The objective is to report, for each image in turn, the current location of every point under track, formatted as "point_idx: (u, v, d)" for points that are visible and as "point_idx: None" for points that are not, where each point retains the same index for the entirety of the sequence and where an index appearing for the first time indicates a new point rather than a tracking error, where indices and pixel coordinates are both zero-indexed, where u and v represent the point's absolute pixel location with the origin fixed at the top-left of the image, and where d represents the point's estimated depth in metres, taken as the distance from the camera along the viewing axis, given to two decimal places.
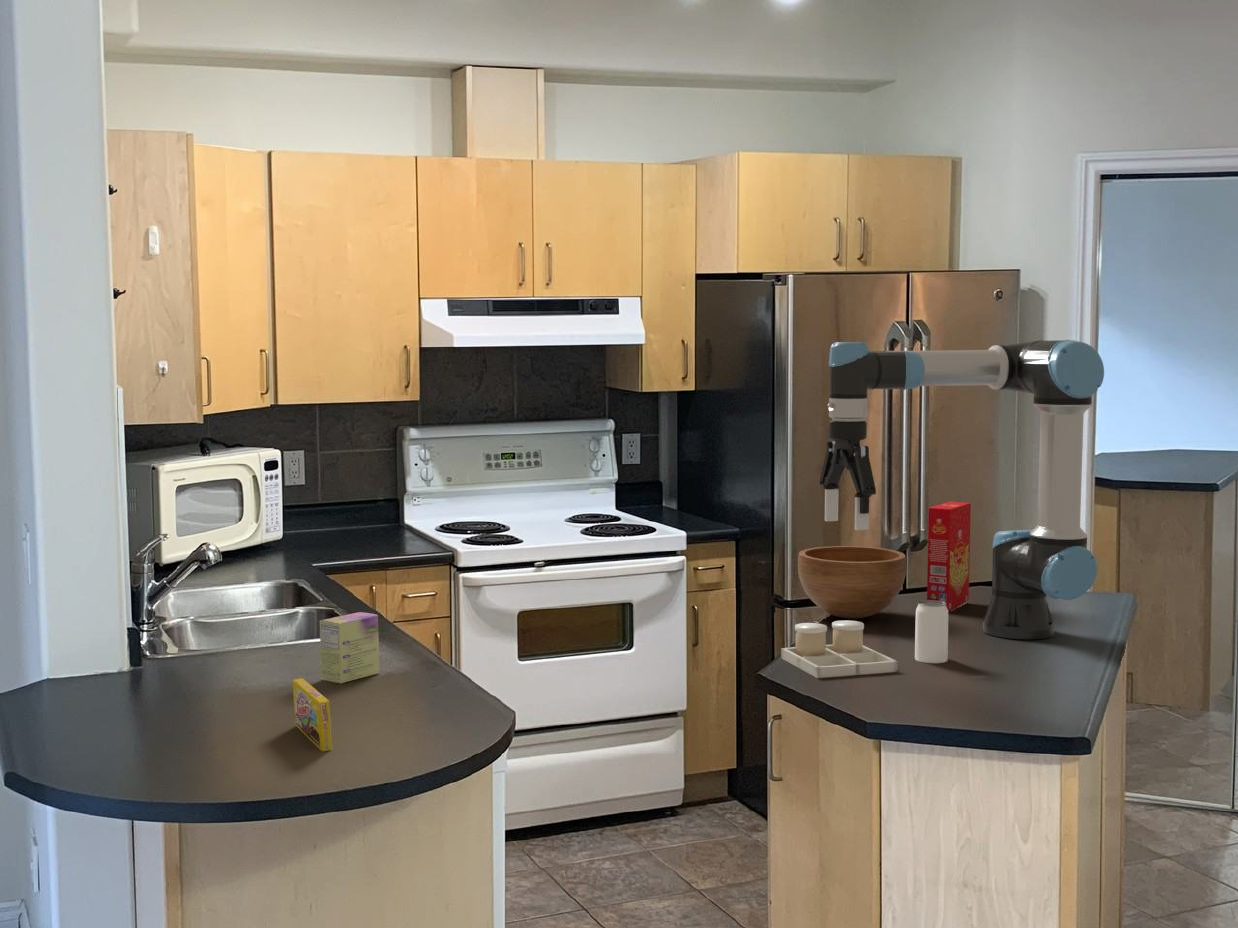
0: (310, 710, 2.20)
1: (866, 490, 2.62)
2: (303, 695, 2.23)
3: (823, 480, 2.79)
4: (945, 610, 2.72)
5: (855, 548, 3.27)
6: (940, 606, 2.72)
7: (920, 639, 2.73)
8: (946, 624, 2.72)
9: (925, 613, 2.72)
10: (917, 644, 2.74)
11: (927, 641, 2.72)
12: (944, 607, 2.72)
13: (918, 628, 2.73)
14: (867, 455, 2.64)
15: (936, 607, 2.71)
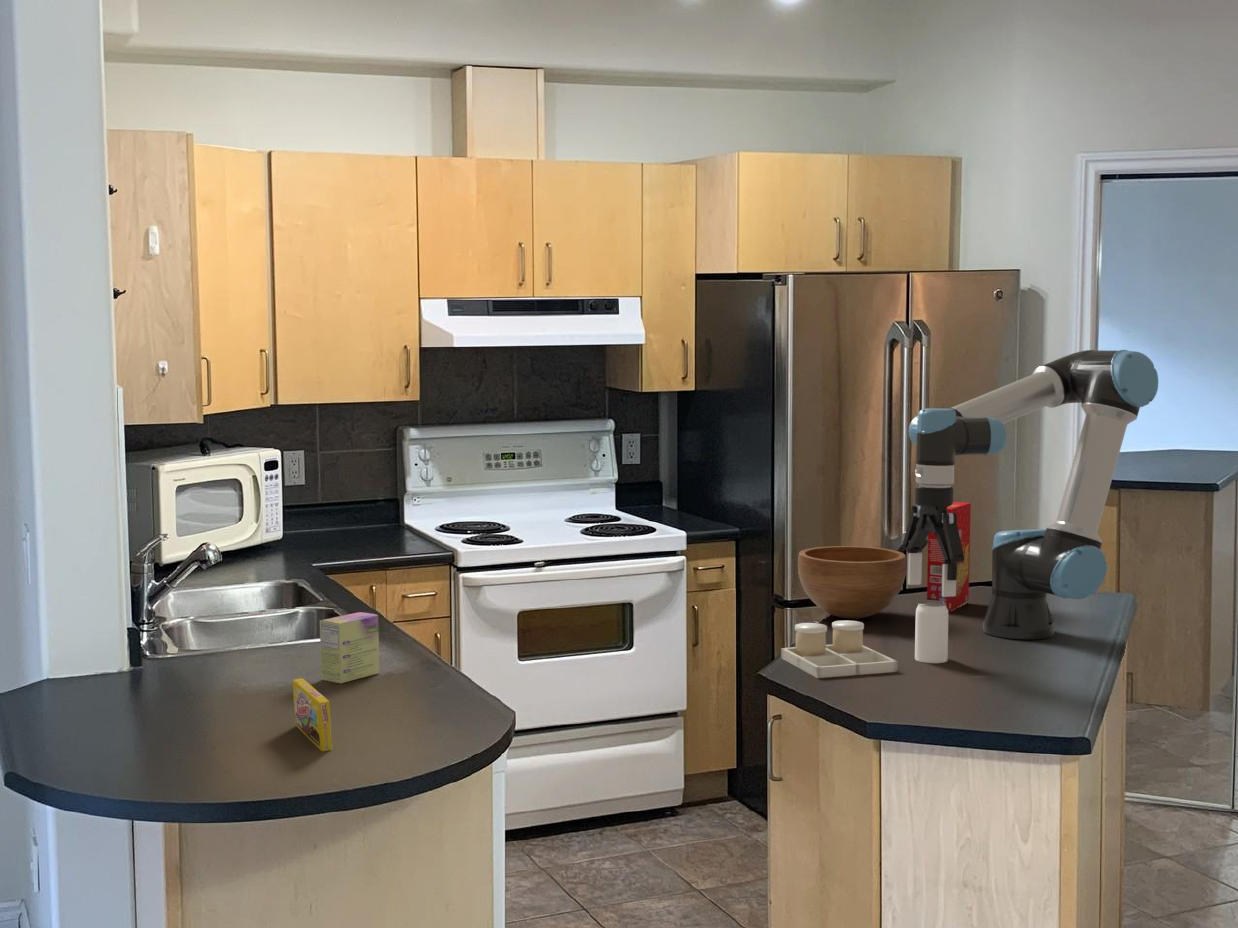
0: (310, 710, 2.20)
1: (955, 558, 2.63)
2: (303, 695, 2.23)
3: (906, 543, 2.81)
4: (945, 610, 2.72)
5: (855, 548, 3.27)
6: (940, 606, 2.72)
7: (920, 639, 2.73)
8: (946, 624, 2.72)
9: (925, 613, 2.72)
10: (917, 644, 2.74)
11: (927, 641, 2.72)
12: (944, 607, 2.72)
13: (918, 628, 2.73)
14: (955, 522, 2.66)
15: (936, 607, 2.71)
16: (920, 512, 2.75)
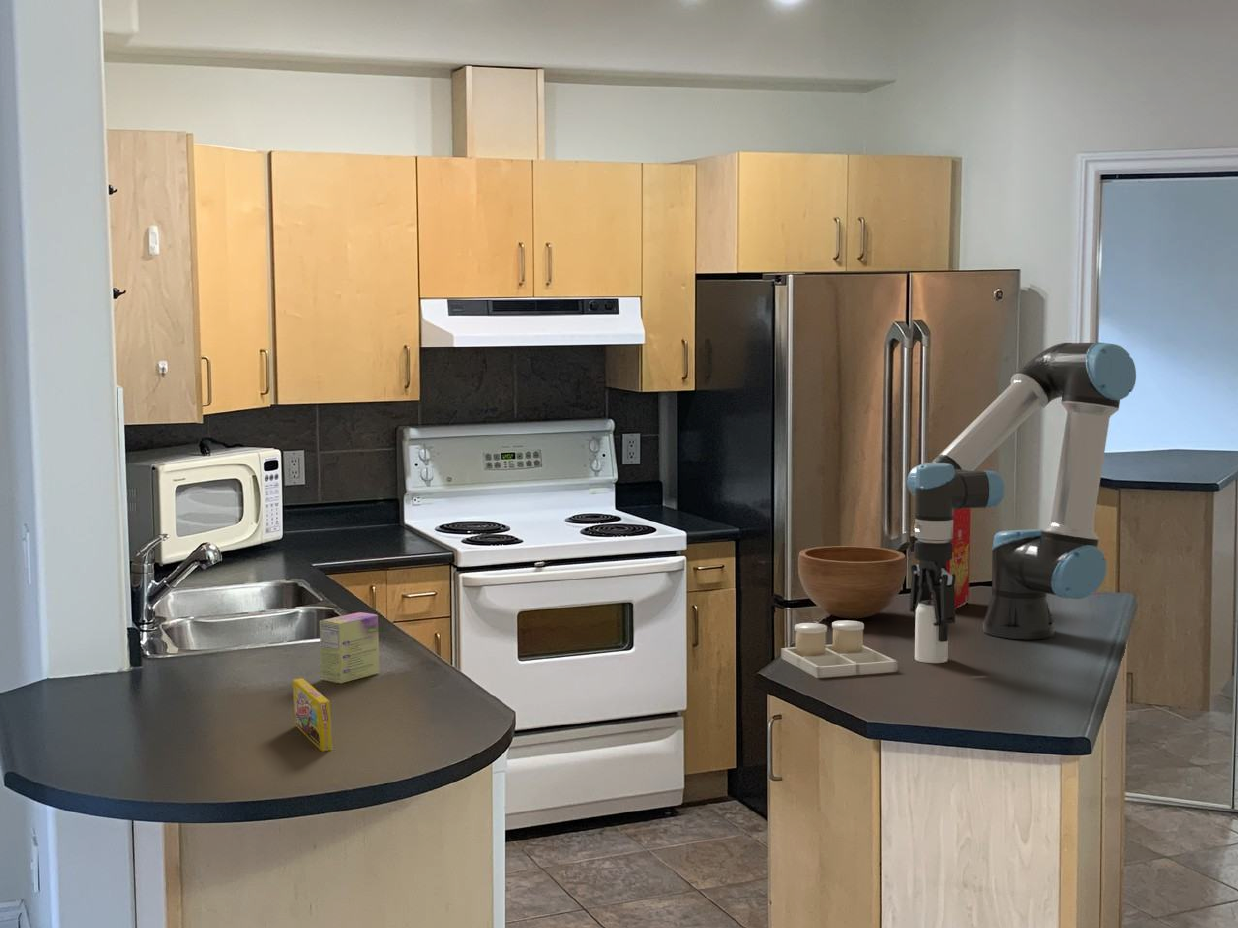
0: (310, 710, 2.20)
1: (946, 621, 2.67)
2: (303, 695, 2.23)
3: (913, 606, 2.79)
4: None
5: (855, 548, 3.27)
6: None
7: (920, 639, 2.73)
8: None
9: (925, 613, 2.72)
10: (917, 644, 2.74)
11: (927, 641, 2.72)
12: None
13: (918, 628, 2.73)
14: (953, 584, 2.68)
15: None
16: (919, 566, 2.76)
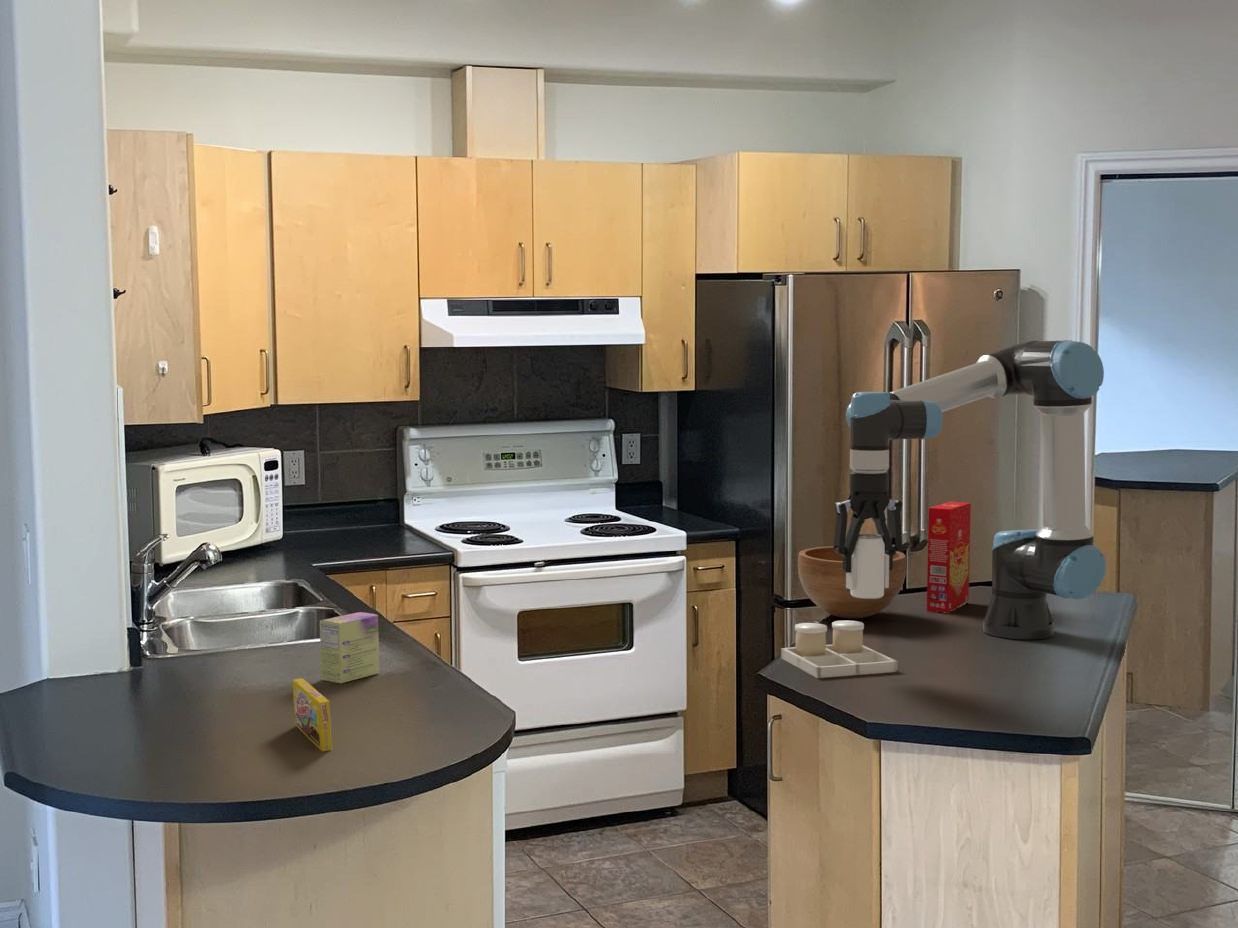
0: (310, 710, 2.20)
1: (834, 548, 2.65)
2: (303, 695, 2.23)
3: None
4: (859, 543, 2.64)
5: None
6: None
7: None
8: (859, 558, 2.64)
9: None
10: None
11: None
12: (860, 540, 2.64)
13: None
14: (840, 513, 2.62)
15: None
16: None
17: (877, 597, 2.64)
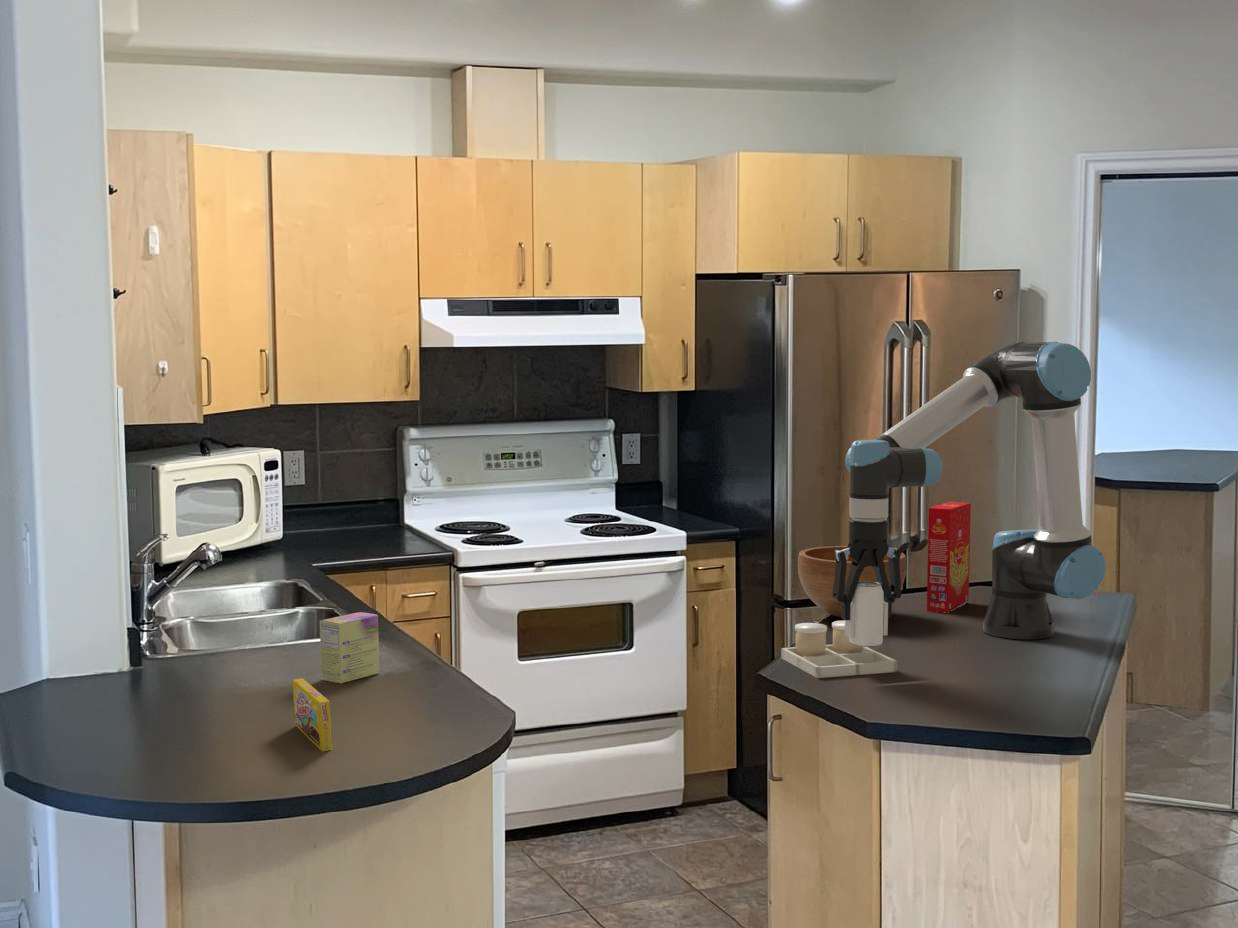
0: (310, 710, 2.20)
1: (833, 596, 2.65)
2: (303, 695, 2.23)
3: None
4: (858, 591, 2.64)
5: None
6: None
7: None
8: (858, 606, 2.64)
9: None
10: None
11: None
12: (859, 588, 2.64)
13: None
14: (840, 561, 2.63)
15: None
16: None
17: (876, 645, 2.65)
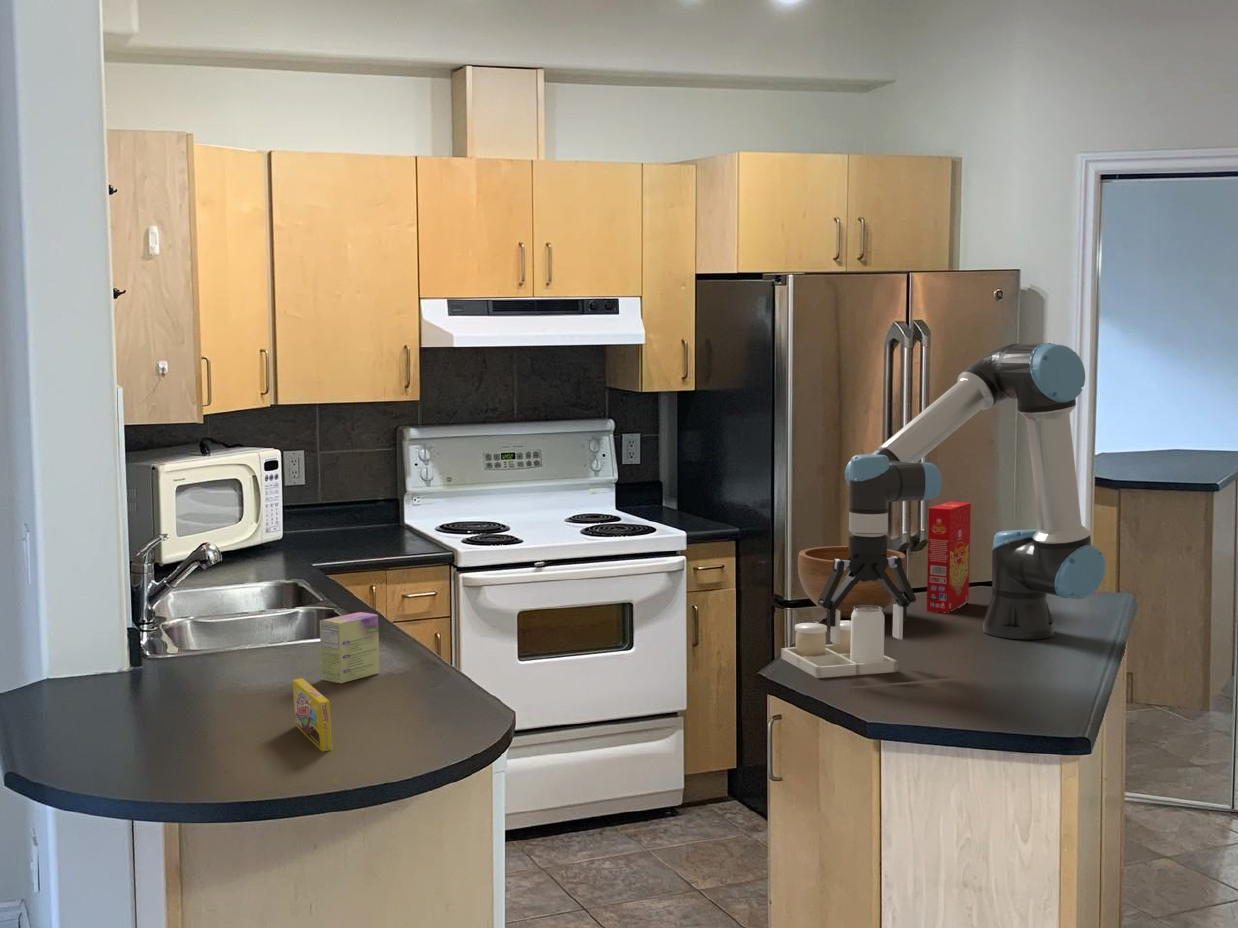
0: (310, 710, 2.20)
1: (818, 601, 2.65)
2: (303, 695, 2.23)
3: (904, 595, 2.70)
4: (859, 615, 2.65)
5: None
6: (856, 610, 2.66)
7: None
8: (859, 630, 2.65)
9: None
10: None
11: None
12: (860, 612, 2.65)
13: None
14: (837, 569, 2.63)
15: (854, 609, 2.67)
16: None
17: None
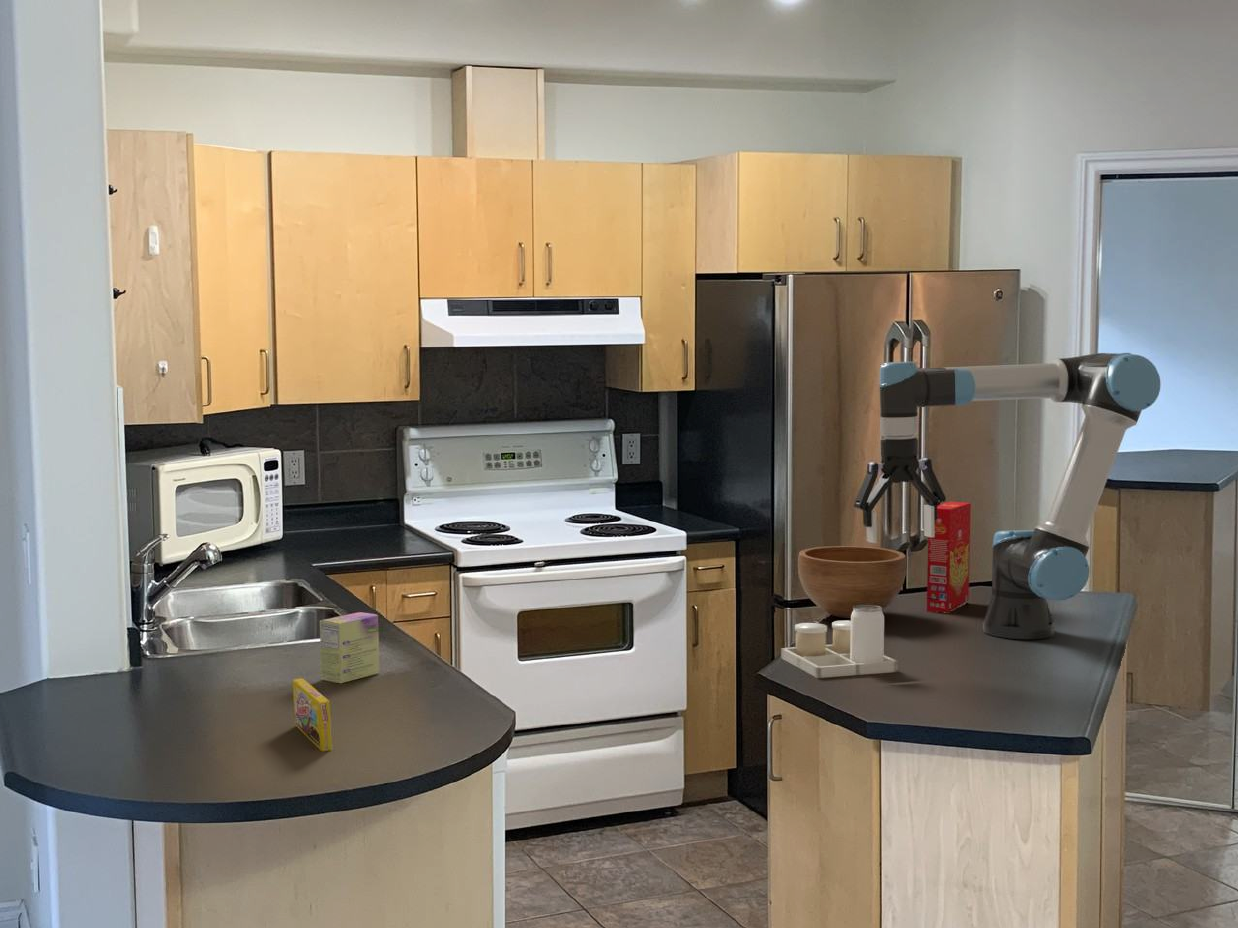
0: (310, 710, 2.20)
1: (855, 503, 2.77)
2: (303, 695, 2.23)
3: (934, 496, 2.84)
4: (859, 615, 2.65)
5: (855, 548, 3.27)
6: (856, 610, 2.66)
7: None
8: (859, 630, 2.65)
9: None
10: None
11: None
12: (860, 612, 2.65)
13: None
14: (872, 471, 2.76)
15: (854, 610, 2.67)
16: None
17: None
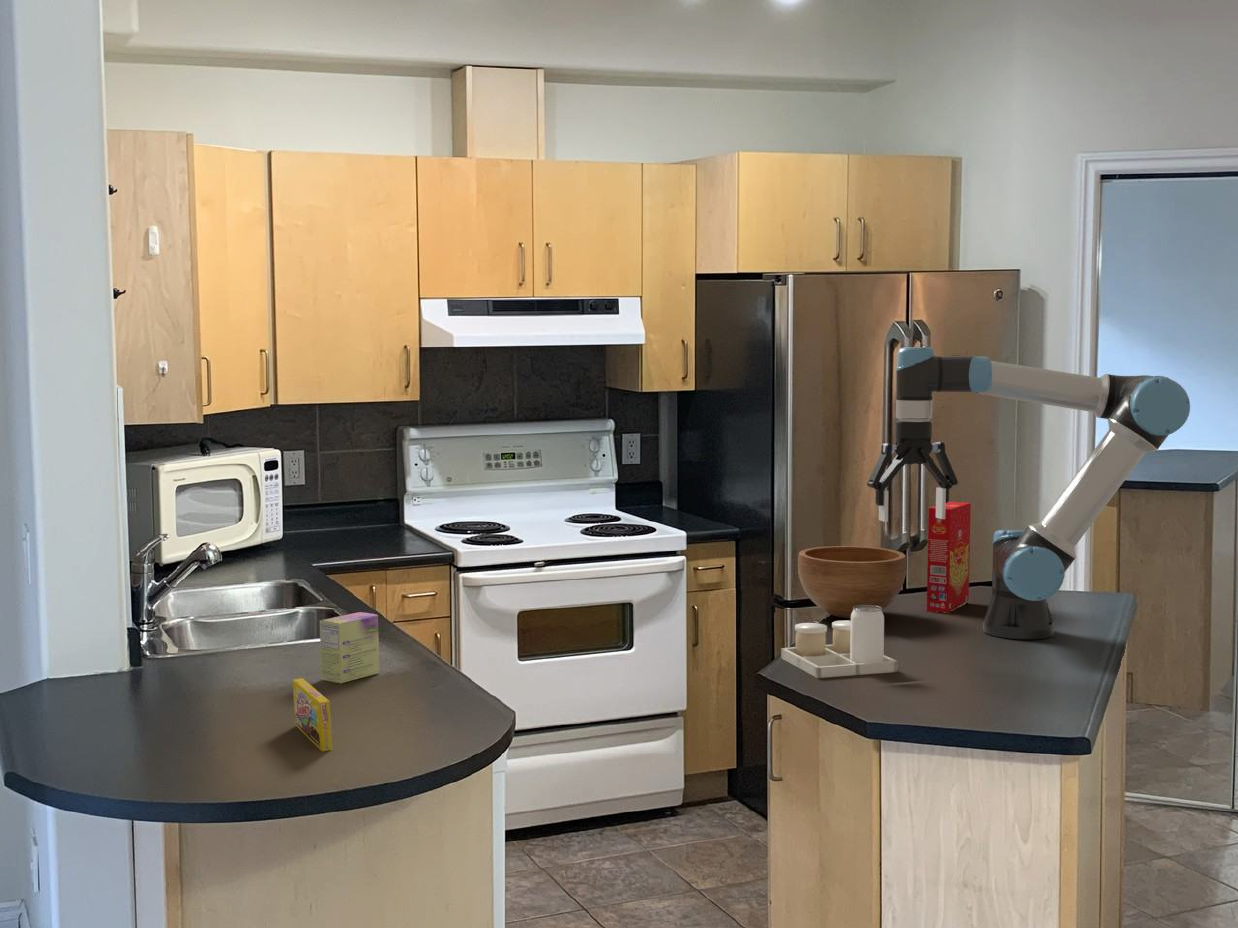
0: (310, 710, 2.20)
1: (868, 482, 2.86)
2: (303, 695, 2.23)
3: (946, 479, 2.92)
4: (859, 615, 2.65)
5: (855, 548, 3.27)
6: (855, 610, 2.66)
7: None
8: (859, 630, 2.65)
9: None
10: None
11: None
12: (860, 612, 2.65)
13: None
14: (885, 452, 2.85)
15: (853, 610, 2.67)
16: None
17: None
